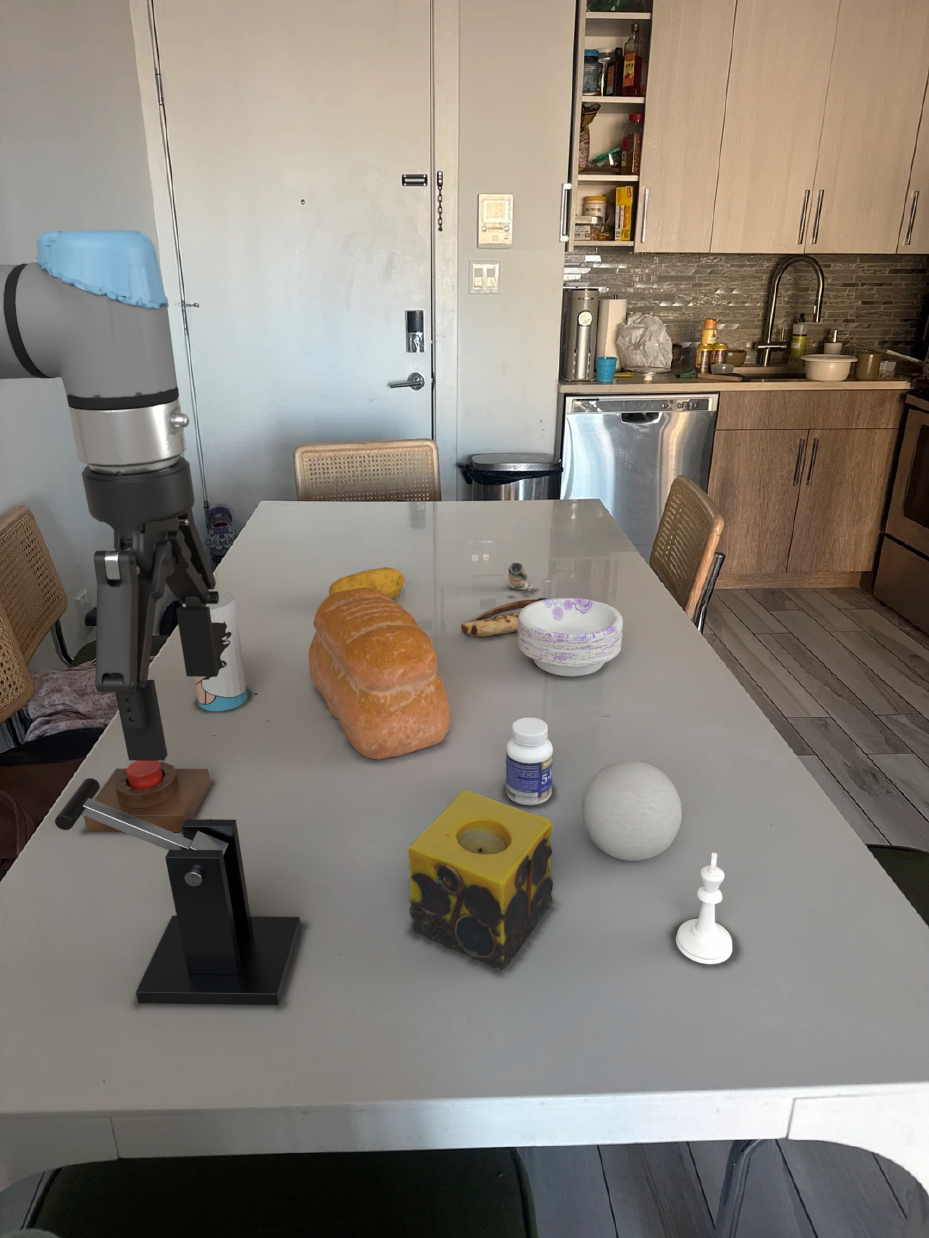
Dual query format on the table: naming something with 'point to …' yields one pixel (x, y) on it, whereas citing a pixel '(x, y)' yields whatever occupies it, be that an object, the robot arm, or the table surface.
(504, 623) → the bone fish hook
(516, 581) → the vase
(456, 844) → the candle
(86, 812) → the lever
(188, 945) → the bracket
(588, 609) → the paper bowls
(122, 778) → the button block
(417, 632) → the bread
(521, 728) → the pill bottle
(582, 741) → the table surface
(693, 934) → the chess piece
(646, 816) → the ball
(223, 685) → the cup
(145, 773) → the button
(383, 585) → the potato
